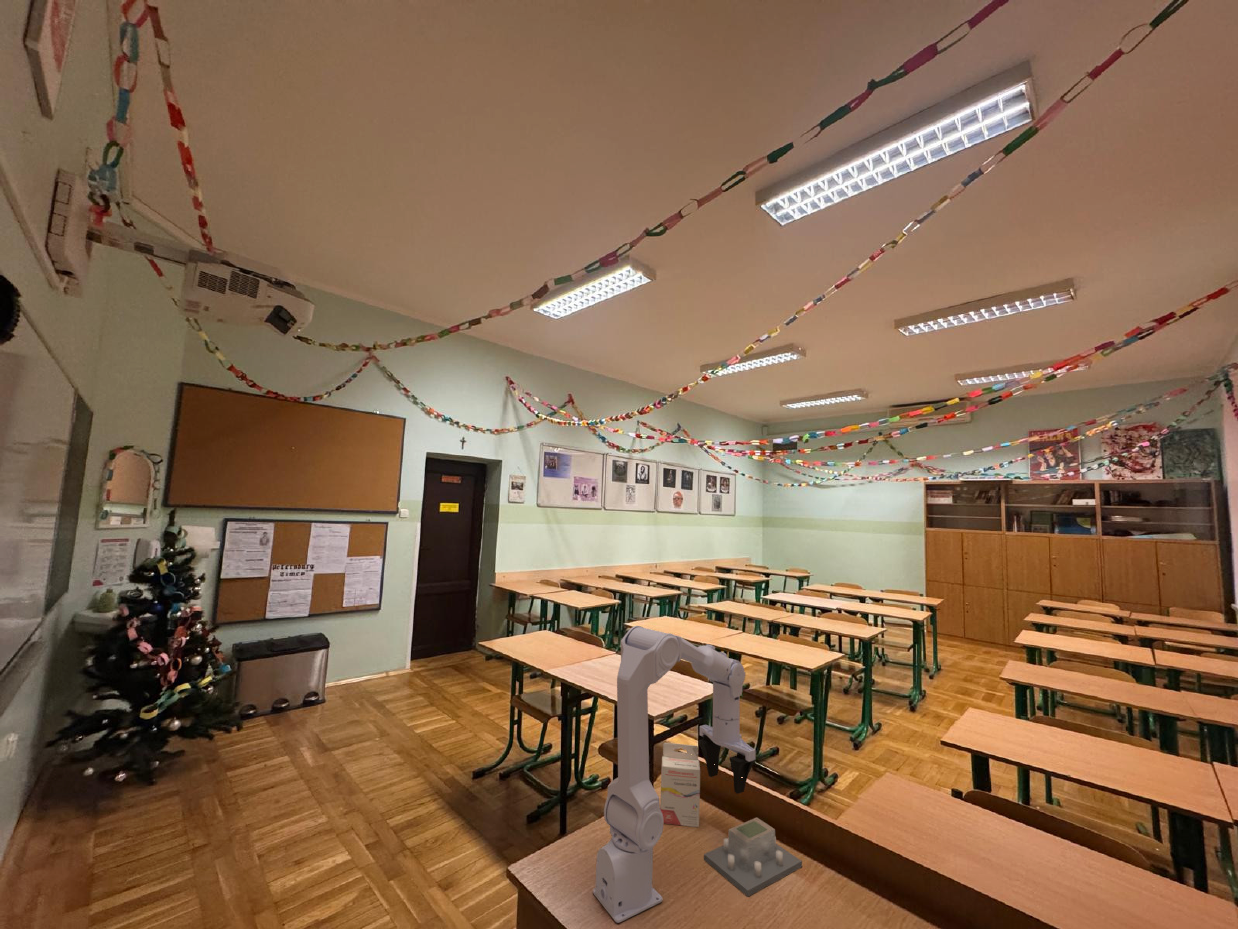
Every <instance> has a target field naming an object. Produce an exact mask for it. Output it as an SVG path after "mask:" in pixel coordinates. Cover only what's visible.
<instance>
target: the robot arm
mask: <svg viewBox="0 0 1238 929" xmlns="http://www.w3.org/2000/svg"><path fill="white" fill-rule="evenodd" d="M681 659H682V660H684V661H686V662H688V663H690V665H691V668H692V670H693V671H694V672H695V673H696V674H699V675H701V676H702V677H703V676H704V677H705V678H707V679H708V680H709V682H710V683H712V726H710V725H709V724H708V725H707V724H703V725H700V726H699V736H701V737H702V739H699V740H698V745H699V746H698V747H700V750H701V752H702V754H703V758H704V761H705V764H706V769H707V774H708V777H709V778H712V777H717V776H718V774H719V768H720V766H719V764H720V761H719V760H720V753H721V748H722V747H724V748H726V749H728V750H730V751H732V752H734V753H735V754H736V755H734V756H730V757H729V762H730V766H731V769H732V775H733V776H732V777H733V789H734V793H736V794H737V795H739V794H742V793H744V792H745V788H746V785H747V784H746V783H747V780H748V776H749V775H750V774H749V773H750V771H751V769H752V768H753V765H754V763H755V762H756V748H753V747H752V746H750V745H749V744H748V743H747V742H746V741H745V740H744V739H742V736H743V735H742V734H741V732H740V730H741V729H740V726H741V724H740V722H741V721H740V716H741V712H740V709H741V707H740V705H741V704H740V703H741V702H740V699H741V698H740V696H742V693H743V685H744V683H745V680H746V674H747V673H746V671H745V668H744V665H743V664H741V662H740V660H739V659H738V660H737V659H733V658H729V657H728V656H727V653H725V652H723V651H717V650H716V646H714V645H712V644H707V643H706V644H705V645H698V646H696V645H695V644H693V643H691V642H690V641H688V640H686V639H685V638H684V637H681V636H679V635H676V634H673V633H671V632H670V633H669V632H668V633H667V632H664V631H659V630H655V629H651V628H650V629H649V628H645V627H643V626H640V625H634V626H632V627H631V628H629V629H628V631H627V632H626V633H625V635H624V636H623V637H622V638H621V640H620V664H619V667H618V671H617V677H616V692H617V693H616V696H617V699H616V700H617V702H616V703H617V704H616V705H617V709H616V710H617V711H616V712H617V776H618V777H616V778H614V779H613V780H612V781H611V782H609V784H608V786H607V796H606V799H605V803H604V807H603V808H604V809H603V817H604V820H605V822H606V824H607V825H608V826H609V834H610V835H611V838H610V839H609V841H608V842H607V843H606V844H605V845H604V846H602V847H600V848H599V849H598V851H597V853H596V861H595V862H596V865H595V866H596V867H595V887H594V888H593V889H592V894H594V896H595V898H596V899H597V900H598V901H599V903H600V904H601V905H602V906H603V908H604V909H605V910H606V912H607V913H608V914H609V915H610V917H611V918H612V920H614V922H615V923H617V924H618V923H621V922H624V921H625V920H628V919H629V918H631V917H633V916H635V915H638V914H640V913H642V912H643V911H646V910H648V909H650V908H652V907H654V906H656V905H658V904H660V903H662V902H663V896H662V895H661V894H660V893H659V892H658V891H657V890H656V889H655V888H654V887H653V866H654V865H653V860H654V858H653V857H654V855H653V854H654V853H653V852H654V847H655V846H656V845H657V844H658V842H659V840H660V839H661V837H662V835H663V830H664V824H665V823H664V820H663V814H662V812H661V810H660V797H659V795H658V793H657V791H656V789H655V787H654V786H653V785H652V782H651V780H650V763H649V762H650V755H649V749H650V748H649V710H648V709H649V704H648V702H649V699H648V690H649V687H650V686H651V685H653V684H657V683H658V681H659V680H661V679H662V678H663V677H664V676H665V675H666V674H667V673H668V672H669V671H671V669H673V667H675V665H676V664H677V662H680V661H681ZM714 764H715V765H714ZM741 777H743V778H741Z"/></svg>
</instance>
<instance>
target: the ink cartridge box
mask: <svg viewBox="0 0 1238 929" xmlns="http://www.w3.org/2000/svg"><path fill="white" fill-rule="evenodd" d="M679 749H682V750H683V751H686V752H687V753H686V752H683V751H675V750H679ZM691 754H692V755H691ZM700 766H701V765H700V760H699V746H698V745H693V744H691V745H690V744H684V743H675V742H674V743H671V742H663V744H662V756H661V773H660V775H661V776H660V797H659V805H660V810H661V812H662V814H663V820H664V823H663V824H667V825H675V826H677V825H678V826H684V827H691V828H692V827H693V828H699V827H700V805H701V804H700V803H701V801H700V800H701V797H700V796H701V794H700V793H701V767H700Z"/></svg>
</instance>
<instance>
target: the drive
mask: <svg viewBox="0 0 1238 929" xmlns="http://www.w3.org/2000/svg"><path fill="white" fill-rule="evenodd" d="M775 836H776V829H775V828H773V827H772V826H770V825H769V824H768V823H767V822H764V820H762V819H760V818H759V817H754V818H752V819H750V820H749V819H748V821H745V822H743V823H740V824H737V825H735V826H733V827H731V828H729V829H728V839H729V847H728V855H729V854H732V855H734V863H735V864H737V865H738V866H739V867H740V868H742V869H743V870H744V871H745V872H748V871H750V870H752V869H754V862H755V861H759V862H760V863H761V865H762V864H764V863H766V862H768V861H770V860H772V859H774V858H775Z"/></svg>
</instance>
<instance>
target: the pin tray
mask: <svg viewBox="0 0 1238 929" xmlns="http://www.w3.org/2000/svg"><path fill="white" fill-rule="evenodd" d="M728 847H729V837H728V838H727V837H725V838H723V845H721V846H718V847H717V848H714V849H712V850H709V851H708V852H705V853H704V854H703V860H704V861H705V862H706V863H707V864H708V865H709V866H711V867H712V868H713V869H714V870H715V871H716V872H718V873H719V874H720V875H721V876H722V877H724V878H725V879H726V880H727V881H729V882H730V883H731V884H732V885H733V886H734V887H735V888H737V889H738V890H739V891H740V892H741V893H742V894H743V895H745V896H746V897H747V898H749V897H750V896H753V895H754V894H756V893H758V892H760V891H761V890H763V889H765V888H767V887H769V886H770V885H772V884H774V883H775V882H778V881H779V880H781V879H782V878H785V877H787V876H788V875H790V874H792V873H795V871H797V870H799V869H801V868H802V867H803V861H802V860H801V859H800V858H798V857H797V856H795V855H794V854H792V853H790V852H789V851H788V850H786V849H785V848H783V847H782V846H780V845H779V844H778V843H777V837H776V835H775V858H774V859H772V860H770V861H768V862H766V863H764V864H762V865H761V863H760V862H759V861H755V862H754V869H752V870H750V871H748V872H745V871H744V870H743V869H742V868H740V867H739V866H738V865H737V864H735V863H734V855H732V854H729V855H728Z"/></svg>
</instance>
